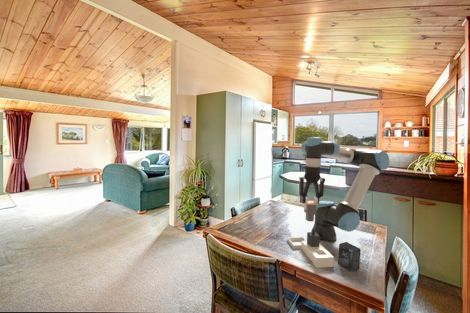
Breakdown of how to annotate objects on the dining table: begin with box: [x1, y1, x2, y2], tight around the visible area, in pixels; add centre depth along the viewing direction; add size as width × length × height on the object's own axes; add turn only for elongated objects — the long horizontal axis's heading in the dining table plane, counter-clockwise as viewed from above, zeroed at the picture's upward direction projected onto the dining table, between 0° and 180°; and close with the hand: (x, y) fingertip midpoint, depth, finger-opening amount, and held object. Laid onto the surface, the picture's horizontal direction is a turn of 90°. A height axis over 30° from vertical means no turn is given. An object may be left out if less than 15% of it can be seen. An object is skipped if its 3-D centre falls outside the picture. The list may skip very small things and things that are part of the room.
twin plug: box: [306, 227, 321, 247], centre depth 119 cm, size 5×5×13 cm
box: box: [337, 241, 362, 272], centre depth 108 cm, size 8×6×11 cm
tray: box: [286, 236, 307, 250], centre depth 129 cm, size 10×10×2 cm
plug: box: [303, 200, 317, 222], centre depth 118 cm, size 5×5×10 cm
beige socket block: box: [300, 241, 336, 269], centre depth 116 cm, size 16×18×5 cm
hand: (310, 209), depth 117 cm, fingers closed on plug, 5 cm apart
